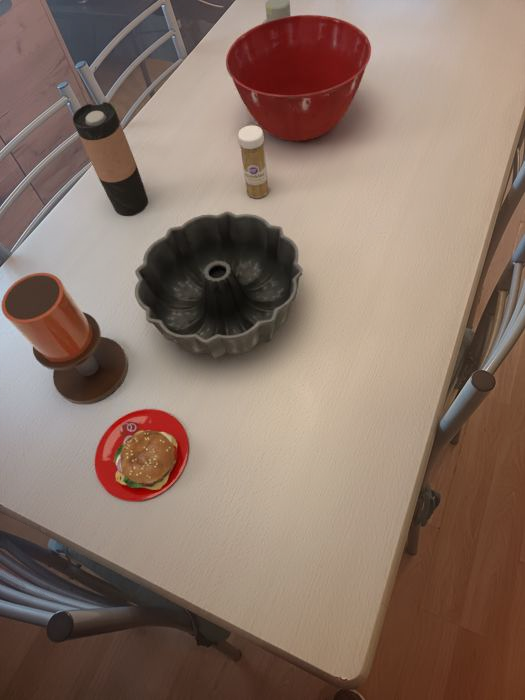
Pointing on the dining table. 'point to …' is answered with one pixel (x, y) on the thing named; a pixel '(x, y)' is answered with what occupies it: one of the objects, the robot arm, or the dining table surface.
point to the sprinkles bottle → (254, 160)
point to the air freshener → (277, 9)
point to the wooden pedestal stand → (89, 369)
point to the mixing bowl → (299, 73)
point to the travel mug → (111, 157)
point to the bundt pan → (219, 283)
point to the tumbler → (47, 317)
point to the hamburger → (141, 455)
